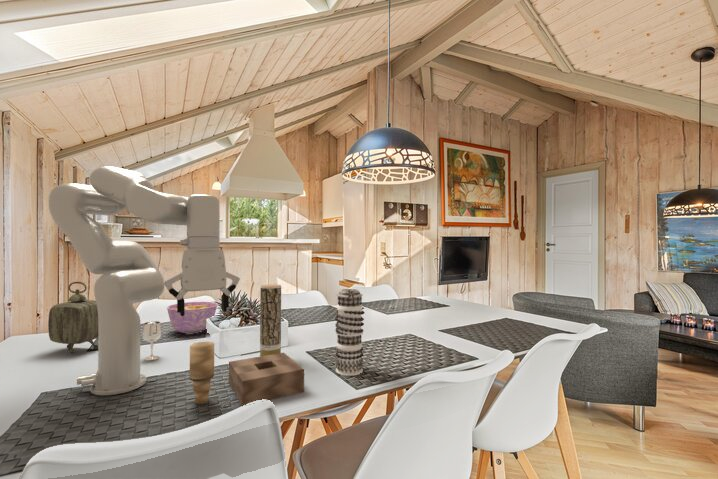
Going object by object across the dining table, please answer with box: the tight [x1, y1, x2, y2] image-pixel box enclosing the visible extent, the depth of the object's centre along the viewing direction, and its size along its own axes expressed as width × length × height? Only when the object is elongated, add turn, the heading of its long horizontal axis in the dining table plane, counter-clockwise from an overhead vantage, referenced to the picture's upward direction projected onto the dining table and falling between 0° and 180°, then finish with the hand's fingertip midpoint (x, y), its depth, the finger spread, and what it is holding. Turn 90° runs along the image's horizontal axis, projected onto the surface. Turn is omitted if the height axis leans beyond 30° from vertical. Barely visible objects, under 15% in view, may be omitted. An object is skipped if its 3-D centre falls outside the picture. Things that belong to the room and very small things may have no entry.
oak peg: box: [189, 341, 215, 405], centre depth 88 cm, size 6×6×14 cm
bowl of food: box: [166, 301, 218, 333], centre depth 153 cm, size 20×20×12 cm
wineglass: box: [141, 320, 163, 361], centre depth 119 cm, size 6×6×12 cm
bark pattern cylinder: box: [259, 283, 282, 357], centre depth 118 cm, size 7×7×25 cm
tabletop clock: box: [47, 281, 99, 354], centre depth 126 cm, size 14×9×25 cm, turn 84°
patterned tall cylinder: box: [334, 288, 365, 377], centre depth 109 cm, size 9×9×25 cm
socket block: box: [228, 352, 305, 406], centre depth 96 cm, size 16×16×6 cm
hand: (203, 313), depth 88 cm, fingers open, 9 cm apart
